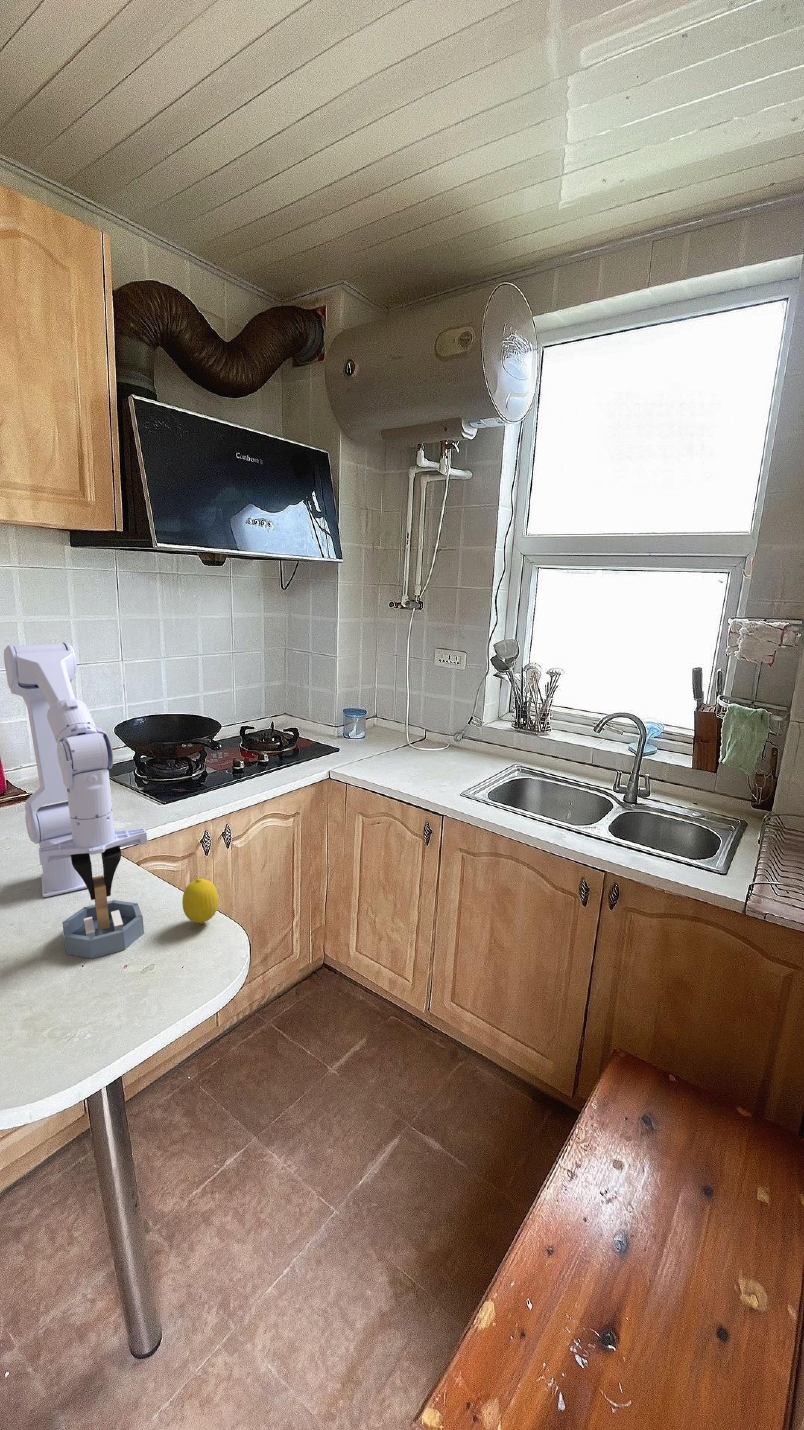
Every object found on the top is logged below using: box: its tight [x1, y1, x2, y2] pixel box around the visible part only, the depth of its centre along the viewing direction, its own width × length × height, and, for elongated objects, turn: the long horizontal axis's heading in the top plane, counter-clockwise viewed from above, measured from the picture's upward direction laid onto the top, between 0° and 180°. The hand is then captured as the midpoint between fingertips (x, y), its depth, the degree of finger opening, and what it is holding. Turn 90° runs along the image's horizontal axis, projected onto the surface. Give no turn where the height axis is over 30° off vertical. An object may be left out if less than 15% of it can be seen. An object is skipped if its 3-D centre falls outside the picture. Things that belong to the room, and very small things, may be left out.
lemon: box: [181, 877, 219, 925], centre depth 98 cm, size 6×6×8 cm
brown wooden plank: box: [92, 875, 110, 930], centre depth 93 cm, size 4×2×7 cm, turn 31°
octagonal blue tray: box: [61, 899, 145, 960], centre depth 94 cm, size 11×11×3 cm
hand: (100, 895), depth 93 cm, fingers closed on brown wooden plank, 1 cm apart
